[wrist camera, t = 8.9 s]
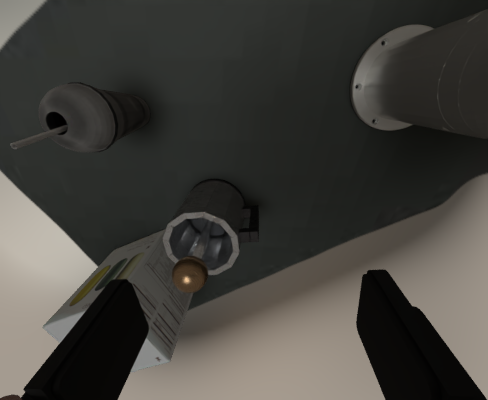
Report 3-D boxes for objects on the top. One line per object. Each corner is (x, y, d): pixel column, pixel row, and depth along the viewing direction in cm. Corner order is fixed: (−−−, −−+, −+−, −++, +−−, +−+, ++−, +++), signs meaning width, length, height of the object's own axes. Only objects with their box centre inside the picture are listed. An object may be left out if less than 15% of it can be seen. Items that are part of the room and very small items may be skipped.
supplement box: (166, 227, 44) (114, 301, 29) (200, 276, 49) (171, 364, 33) (112, 249, 48) (38, 327, 32) (149, 293, 52) (101, 381, 36)
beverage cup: (159, 89, 34) (46, 85, 16) (159, 139, 37) (64, 182, 19) (110, 81, 34) (-58, 68, 16) (114, 131, 37) (-23, 168, 19)
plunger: (232, 191, 37) (215, 256, 22) (238, 231, 40) (225, 312, 26) (187, 194, 38) (140, 259, 23) (195, 234, 41) (159, 313, 26)
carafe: (256, 175, 39) (254, 207, 28) (260, 228, 43) (260, 274, 32) (182, 181, 40) (153, 213, 29) (193, 232, 44) (172, 277, 34)
